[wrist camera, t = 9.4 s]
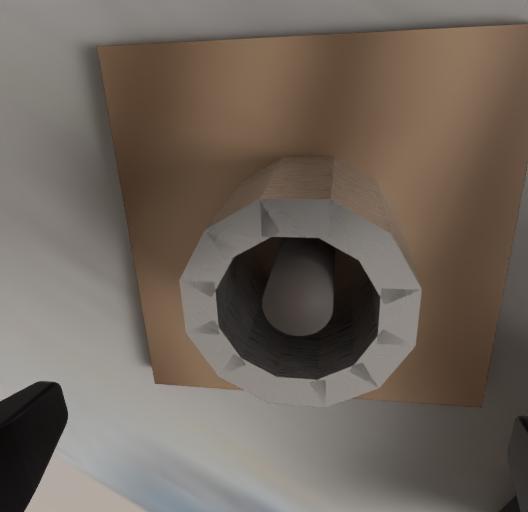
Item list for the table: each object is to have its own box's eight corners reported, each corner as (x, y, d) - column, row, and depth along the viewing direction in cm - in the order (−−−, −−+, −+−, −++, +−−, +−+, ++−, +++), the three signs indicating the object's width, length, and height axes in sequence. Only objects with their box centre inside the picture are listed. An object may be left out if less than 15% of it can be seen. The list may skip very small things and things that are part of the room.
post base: (540, 24, 14) (648, 9, 9) (474, 391, 20) (519, 506, 15) (110, 46, 16) (7, 45, 11) (162, 369, 22) (109, 463, 17)
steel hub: (405, 155, 15) (431, 200, 11) (391, 321, 18) (407, 414, 13) (217, 156, 16) (168, 198, 12) (229, 313, 19) (194, 397, 14)
